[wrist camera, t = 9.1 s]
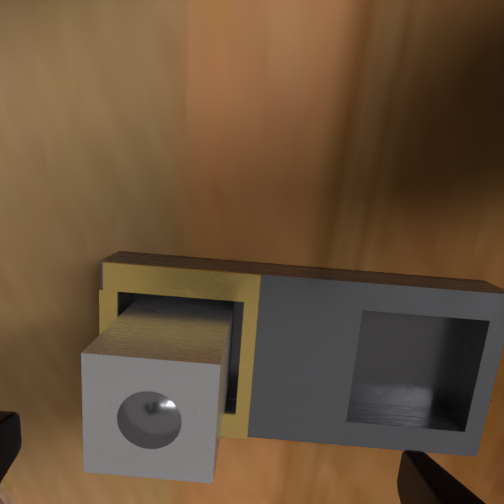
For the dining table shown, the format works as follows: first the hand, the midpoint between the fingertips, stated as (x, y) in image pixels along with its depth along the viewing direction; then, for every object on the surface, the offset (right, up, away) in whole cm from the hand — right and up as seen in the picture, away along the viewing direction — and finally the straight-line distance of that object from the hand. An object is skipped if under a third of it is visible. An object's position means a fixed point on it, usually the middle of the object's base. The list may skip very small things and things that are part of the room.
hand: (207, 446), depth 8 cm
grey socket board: (+3, -1, +12) cm, 13 cm away
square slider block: (-3, 0, +12) cm, 12 cm away
